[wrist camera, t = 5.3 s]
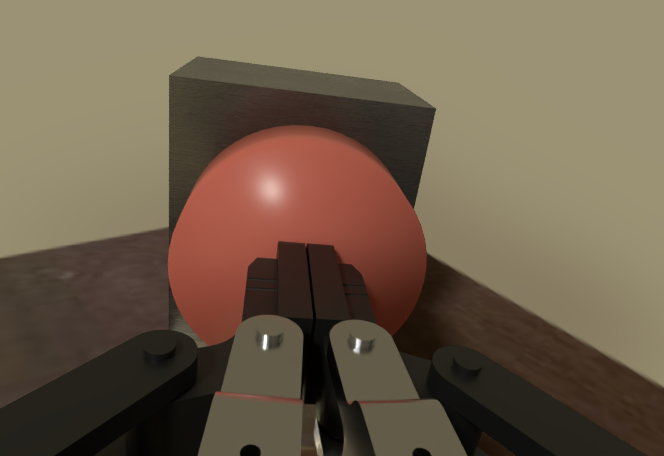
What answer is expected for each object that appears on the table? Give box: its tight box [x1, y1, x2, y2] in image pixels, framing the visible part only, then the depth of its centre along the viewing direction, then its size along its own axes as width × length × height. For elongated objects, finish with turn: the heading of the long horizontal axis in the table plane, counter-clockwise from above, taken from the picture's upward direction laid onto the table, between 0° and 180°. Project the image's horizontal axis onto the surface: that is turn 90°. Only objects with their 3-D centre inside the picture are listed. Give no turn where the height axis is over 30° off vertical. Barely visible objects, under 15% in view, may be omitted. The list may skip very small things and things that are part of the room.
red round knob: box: [168, 125, 427, 346], centre depth 18 cm, size 10×7×7 cm
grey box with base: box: [169, 57, 436, 456], centre depth 18 cm, size 14×9×12 cm, turn 6°
